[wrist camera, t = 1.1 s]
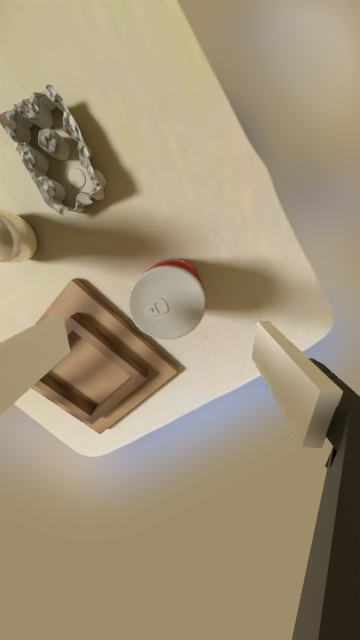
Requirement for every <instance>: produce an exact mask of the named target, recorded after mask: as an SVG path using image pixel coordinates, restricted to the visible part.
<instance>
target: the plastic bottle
mask: <svg viewBox="0 0 360 640" xmlns="http://www.w3.org/2000/svg"><path fill="white" fill-rule="evenodd" d="M36 248H37V239H36V235H35V233H34V231H33V230H32V228H31V227H30V226H29V224H28V223H27V222H26V221H25V220H24V219H22V218H21V217H19V216H17V215H15V214H13V213H10V212H8V211H5V210H1V209H0V262H5V263H17V262H21V261H24V260H27V259H29V258H31V257H32V256H33V255H34V253H35V251H36Z"/></svg>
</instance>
